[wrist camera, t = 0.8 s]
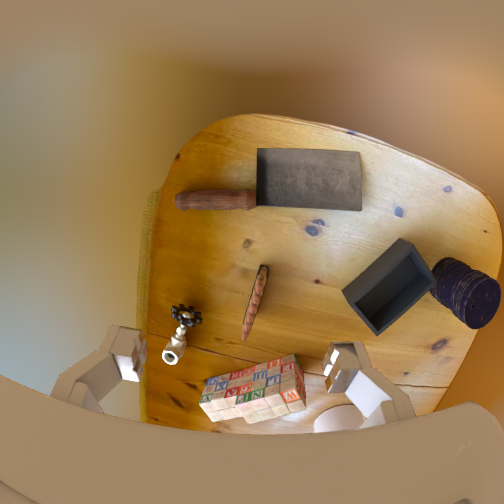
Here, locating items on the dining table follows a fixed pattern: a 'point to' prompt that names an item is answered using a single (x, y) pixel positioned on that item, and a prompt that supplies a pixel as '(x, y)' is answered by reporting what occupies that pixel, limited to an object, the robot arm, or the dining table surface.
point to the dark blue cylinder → (466, 292)
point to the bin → (389, 286)
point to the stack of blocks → (256, 392)
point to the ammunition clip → (254, 300)
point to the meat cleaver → (290, 183)
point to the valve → (180, 333)
